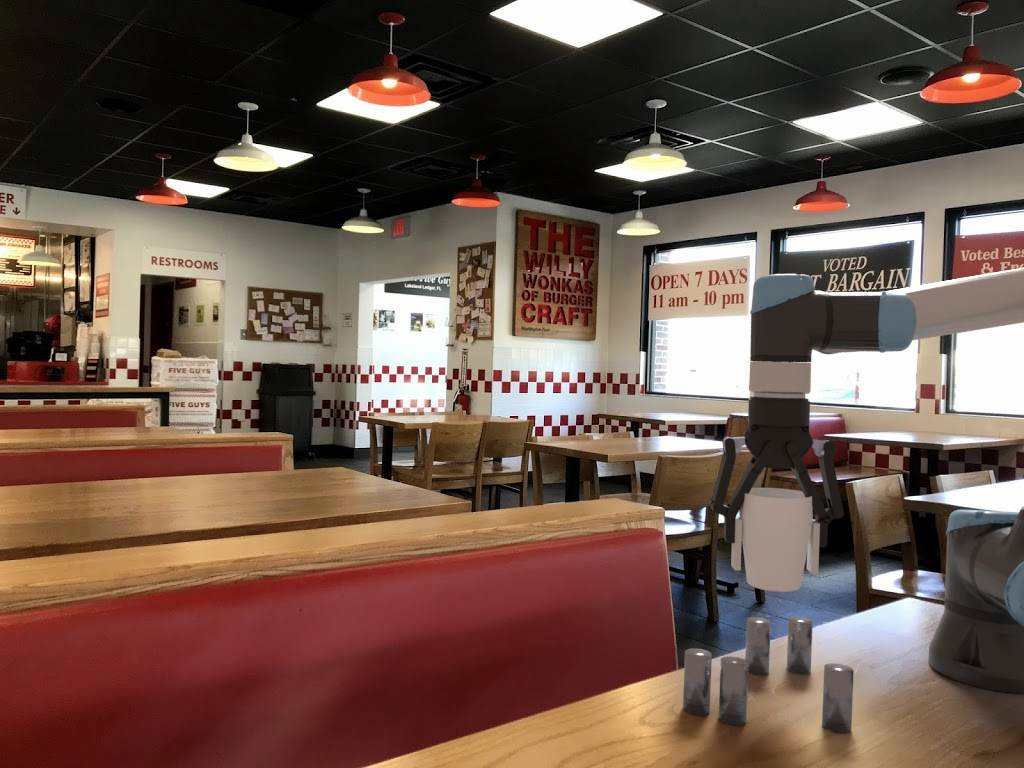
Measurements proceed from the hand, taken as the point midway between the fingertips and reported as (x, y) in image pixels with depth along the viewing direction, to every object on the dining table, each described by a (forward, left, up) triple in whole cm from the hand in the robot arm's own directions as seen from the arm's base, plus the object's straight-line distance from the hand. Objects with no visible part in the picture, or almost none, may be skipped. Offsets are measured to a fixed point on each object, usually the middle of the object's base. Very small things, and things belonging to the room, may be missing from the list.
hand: (773, 569), depth 103 cm
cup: (0, 0, -2) cm, 2 cm away
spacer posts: (+2, 0, -16) cm, 16 cm away
